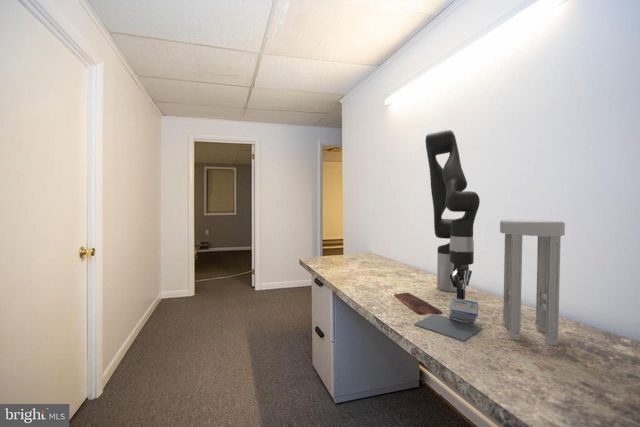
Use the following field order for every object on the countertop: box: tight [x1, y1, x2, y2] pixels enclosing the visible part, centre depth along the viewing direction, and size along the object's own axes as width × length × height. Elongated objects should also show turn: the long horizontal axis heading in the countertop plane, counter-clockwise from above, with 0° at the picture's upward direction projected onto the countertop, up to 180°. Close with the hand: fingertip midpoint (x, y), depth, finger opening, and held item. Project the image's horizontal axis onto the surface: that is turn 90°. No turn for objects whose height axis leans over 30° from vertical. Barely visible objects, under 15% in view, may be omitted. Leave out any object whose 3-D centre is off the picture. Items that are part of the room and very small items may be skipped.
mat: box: [414, 314, 483, 343], centre depth 96 cm, size 14×16×1 cm
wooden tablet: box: [393, 292, 443, 316], centre depth 120 cm, size 26×2×10 cm
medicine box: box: [448, 297, 479, 324], centre depth 99 cm, size 8×4×9 cm
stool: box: [499, 219, 566, 346], centre depth 90 cm, size 16×16×35 cm
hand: (460, 299), depth 102 cm, fingers closed
